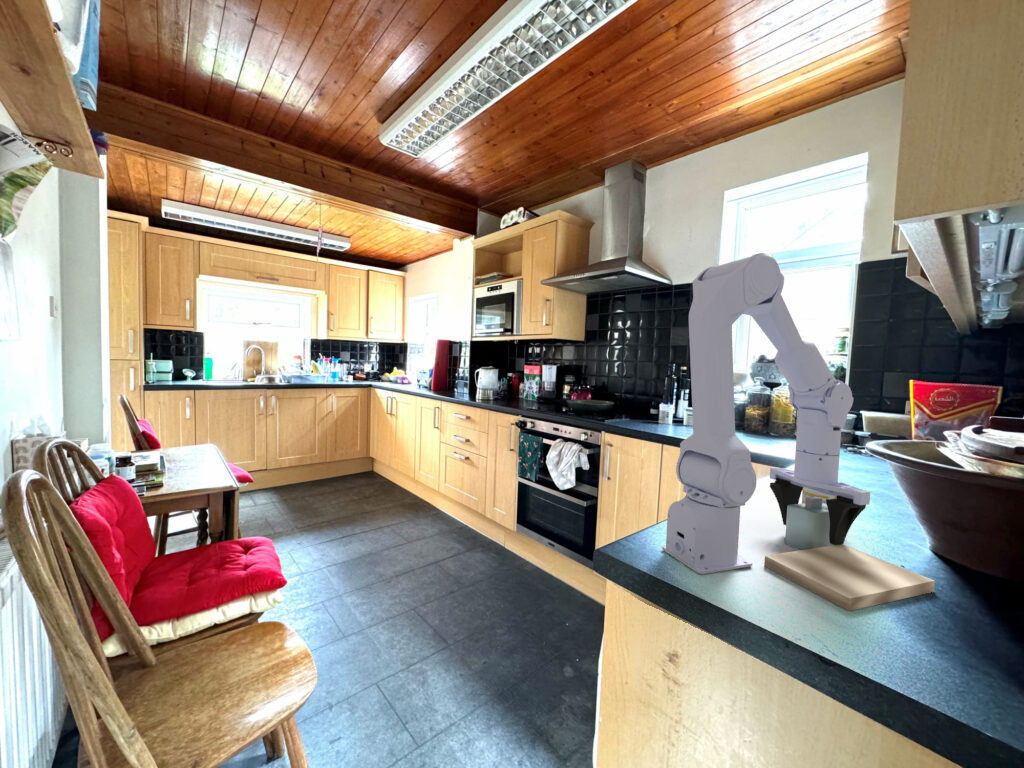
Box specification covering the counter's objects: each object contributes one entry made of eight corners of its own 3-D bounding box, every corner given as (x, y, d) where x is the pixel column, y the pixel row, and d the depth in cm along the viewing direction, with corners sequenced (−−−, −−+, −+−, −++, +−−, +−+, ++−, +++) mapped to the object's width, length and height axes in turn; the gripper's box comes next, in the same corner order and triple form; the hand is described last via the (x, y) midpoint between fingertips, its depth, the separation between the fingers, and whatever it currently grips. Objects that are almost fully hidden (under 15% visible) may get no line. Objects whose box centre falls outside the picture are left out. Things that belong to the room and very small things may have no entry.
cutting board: (848, 610, 47) (849, 598, 47) (764, 565, 57) (764, 555, 57) (933, 591, 52) (934, 580, 52) (841, 553, 62) (842, 544, 62)
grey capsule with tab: (803, 551, 63) (806, 504, 62) (779, 541, 66) (782, 495, 66) (843, 545, 65) (846, 500, 65) (817, 535, 69) (820, 492, 69)
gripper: (886, 461, 60) (879, 550, 60) (791, 442, 73) (787, 515, 74) (853, 463, 57) (847, 555, 58) (762, 443, 71) (758, 518, 72)
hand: (811, 533), depth 66 cm, fingers open, 7 cm apart
